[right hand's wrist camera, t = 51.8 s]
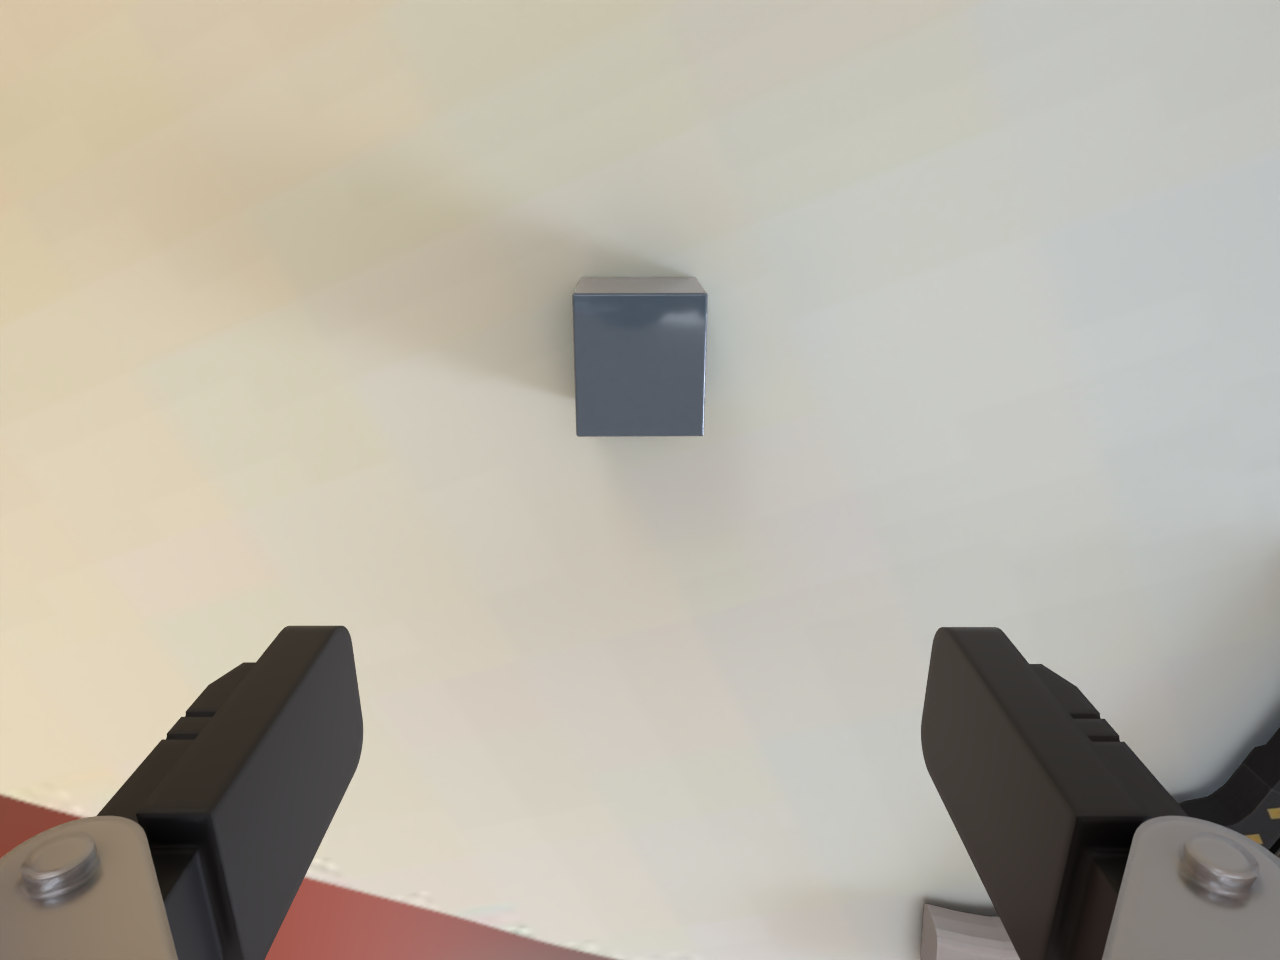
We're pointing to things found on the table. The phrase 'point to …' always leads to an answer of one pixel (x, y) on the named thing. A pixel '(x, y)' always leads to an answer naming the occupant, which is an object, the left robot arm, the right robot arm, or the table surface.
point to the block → (639, 356)
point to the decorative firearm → (1248, 803)
